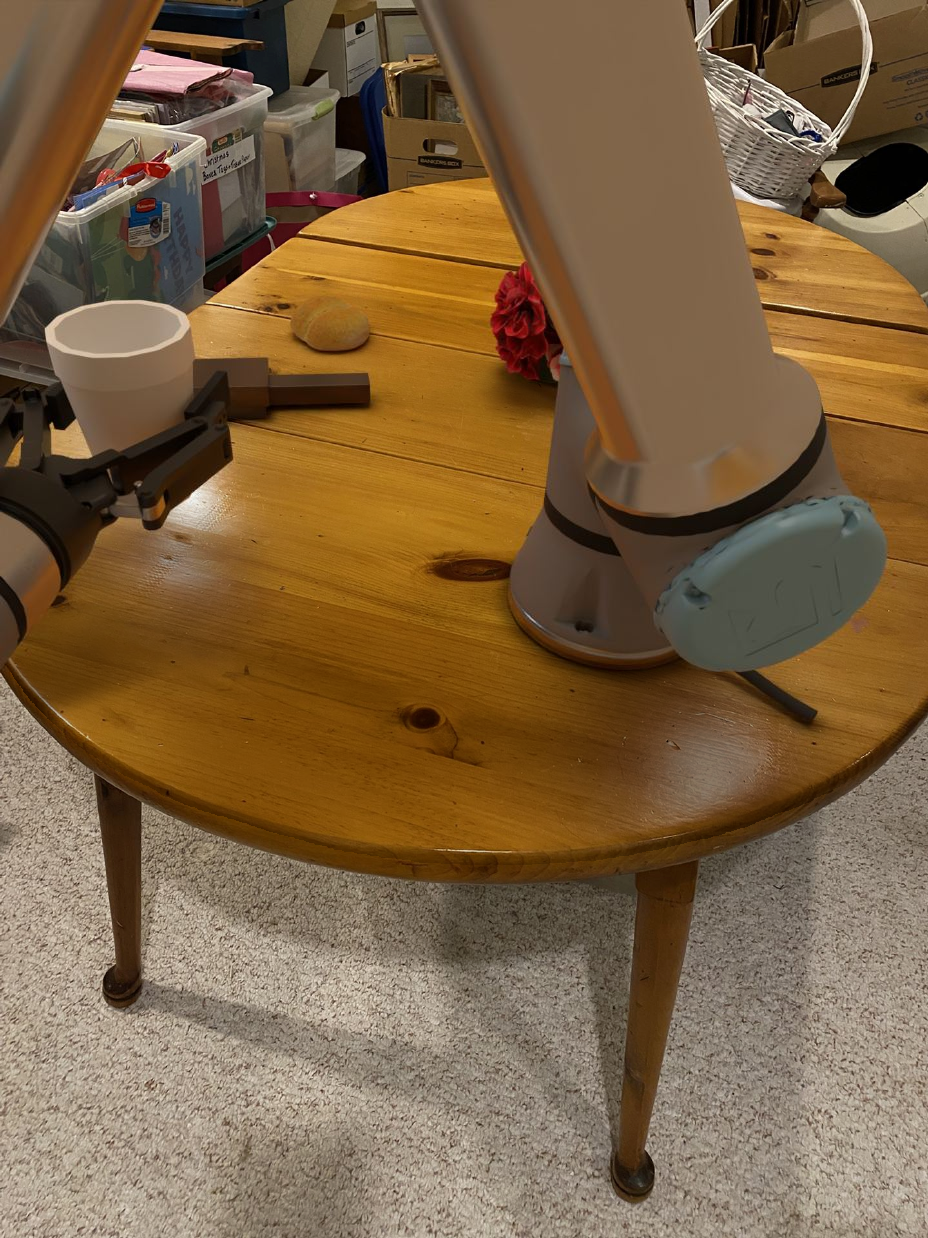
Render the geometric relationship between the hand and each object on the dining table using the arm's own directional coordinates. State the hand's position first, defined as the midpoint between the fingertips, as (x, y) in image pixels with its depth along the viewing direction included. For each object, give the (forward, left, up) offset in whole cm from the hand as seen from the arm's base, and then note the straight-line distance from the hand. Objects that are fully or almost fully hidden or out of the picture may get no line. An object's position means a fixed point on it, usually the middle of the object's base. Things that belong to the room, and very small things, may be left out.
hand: (159, 379), depth 70 cm
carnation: (+19, -48, -12) cm, 53 cm away
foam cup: (-4, +2, -7) cm, 8 cm away
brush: (+16, -11, -12) cm, 23 cm away
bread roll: (+30, -21, -12) cm, 39 cm away
